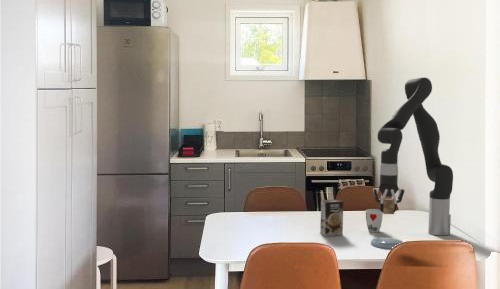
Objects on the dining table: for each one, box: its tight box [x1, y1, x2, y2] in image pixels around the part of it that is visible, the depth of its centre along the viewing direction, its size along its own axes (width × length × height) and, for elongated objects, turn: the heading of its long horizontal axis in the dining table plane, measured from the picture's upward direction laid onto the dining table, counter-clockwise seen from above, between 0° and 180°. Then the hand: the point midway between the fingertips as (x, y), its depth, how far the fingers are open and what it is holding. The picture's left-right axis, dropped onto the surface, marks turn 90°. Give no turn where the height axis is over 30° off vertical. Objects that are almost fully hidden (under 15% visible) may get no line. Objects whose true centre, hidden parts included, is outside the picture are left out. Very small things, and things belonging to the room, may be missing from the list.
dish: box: [370, 237, 404, 250], centre depth 248 cm, size 14×14×1 cm
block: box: [382, 198, 395, 215], centre depth 246 cm, size 4×4×6 cm
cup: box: [365, 208, 384, 233], centre depth 272 cm, size 8×8×10 cm
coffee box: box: [319, 199, 344, 237], centre depth 265 cm, size 9×6×16 cm
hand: (387, 211), depth 247 cm, fingers closed on block, 4 cm apart
